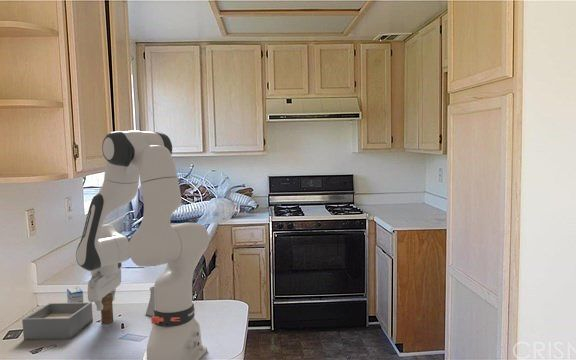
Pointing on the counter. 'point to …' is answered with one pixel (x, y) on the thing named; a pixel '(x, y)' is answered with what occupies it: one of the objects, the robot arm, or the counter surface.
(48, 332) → the storage box
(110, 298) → the wooden peg
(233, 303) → the counter surface
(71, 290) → the medicine box
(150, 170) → the robot arm
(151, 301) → the flask
